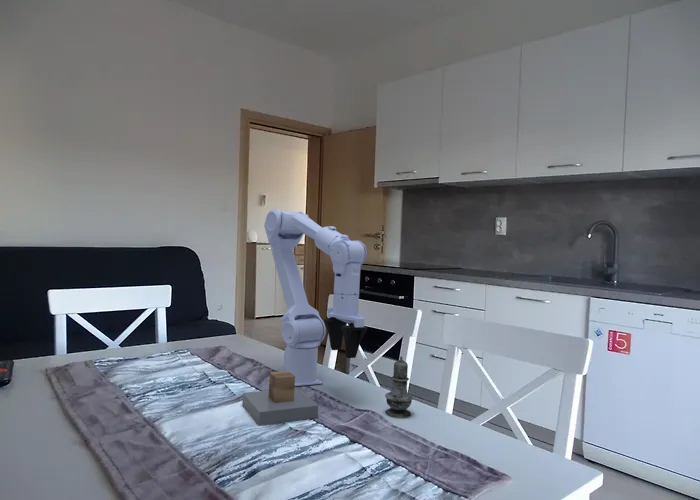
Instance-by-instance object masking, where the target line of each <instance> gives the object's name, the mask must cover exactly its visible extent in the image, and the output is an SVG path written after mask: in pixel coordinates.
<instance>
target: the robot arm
mask: <svg viewBox="0 0 700 500" xmlns="http://www.w3.org/2000/svg"><path fill="white" fill-rule="evenodd" d="M264 221H265V222H264V230H265V233H266V237H267V240H268V244H269V245H270V249H271V255H272V257H273V262H274V264H275V268H276V273H277V275H278V279H279V283H280V287H281V290H282V293H283V297H284V301H285V304H286V309H287V311H285V313H284V314H283V315H282V317H281V318H280V322H281V335H282V339H283V341H284V343H285V344H286V347H285V348H284V351H283V352H284V353H283V367H282V368H283V371H289V372H290V373H291V374H293V375H294V376H295V387H302V386H310V385H321V384H323V381H322V380H320V379H319V378H317V372H318V371H317V370H318V369H317V368H318V352H319V350H318V349H319V346H321V342H323V340H324V339H325V336H326V332H327V334H328V339H329V344H330V349H331V351H341V350H342V349H341V348H342V345H343V340H344V353H345V358H346V359H355V358H357V354H358V351H359V347H360V344H361V342H362V340H363V338H364V336H365V334H366V332H367V331H368V327H367V326H365V317H363V316H361V314H360V313H359V302H360V284H361V283H360V281H361V266H362V265H363V264H364V263H365V261H366V259H367V256H368V253H367V248H366V247H367V246H366V245H365V243H363V242H362V241H361V240H360V239H359V240H358V239H356V240H351V239H350V238H349V235H348V234H342V233H340V232H339V231H338V230H337V227H335V226H332V225H331V226H330V225H328V226H324V227H323V226H320V225H319V224H318V223H317V222H315V221H314V220H313V219H311V218H310V217H309V214H306V213H304V212H303V211H289V210H278V209H276V208H273V209H270V210H269V212H268V213H267V215H266V217H265V220H264ZM304 235H305V236H306V237H309V238H311V239H313V240H314V244H315V246H316V248H318V249H319V250H320V251H322V252H323V253H324V254H326V255H328V256H329V257H330V260H331V263H332V271H333V273H334V283H333V299H332V300H333V301H332V308H330V307H329V308H327V317H329V318H324V319H322V318H321V315H320V313H319V310H317V309H316V308H314V307H313V306H311V305H310V304H309V301H308V298H307V294H306V291H305V287H304V284H303V281H302V277H301V274H300V271H299V267H298V263H297V261H296V257H295V254H294V251H293V250H294V248H296V247H297V246H298V245H299V244H300V242H301V239H302V238H303V237H304ZM347 324H348V325H347ZM283 371H282V372H283Z"/></svg>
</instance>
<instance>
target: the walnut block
mask: <svg viewBox="0 0 700 500" xmlns="http://www.w3.org/2000/svg"><path fill="white" fill-rule="evenodd" d="M268 382H269V384H268V390H269V398H270V399H271V400H272V401H274V402H275V403H279V402H288V401H294V389H295V388H296V386H295V376H294V375H293V374H291V373H290V372H289V371H275V372H273V371H271V372H269V381H268Z"/></svg>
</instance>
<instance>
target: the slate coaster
mask: <svg viewBox="0 0 700 500" xmlns="http://www.w3.org/2000/svg"><path fill="white" fill-rule="evenodd" d="M241 402H242V404H241V405H242V406H243V408H244V409H245V410H246V411H247V413H248V414H249V415H250V417H252V419H253V420H254V421H255V422H256V424H257V425H258V426H266V425H273V424H283V423H288V422H297V421H305V420H311V419H318V417H319V404H317V402H315V401H314V400H312V399H311V398H310V397H309V396H308V395H307V394H305V393H304V392H303V391H302V390H300V388H298V387H295V389H294V401H288V402H279V403H275V402H274V401H272V400H271V399H270V398H269V389H268V390H259V391H250V392H249V391H248V392H242V401H241Z"/></svg>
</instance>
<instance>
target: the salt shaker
mask: <svg viewBox="0 0 700 500" xmlns="http://www.w3.org/2000/svg"><path fill="white" fill-rule="evenodd" d="M408 365H409V364H408V363H407V361H404V359H403V356H400V357H399V360H397V361H395V362H394V363H393V376H391V379H392V387H391V391H390V392H387V393H385V395H384V397H385V398H386V403H387V405H388V406H389V408H388V409H386V410H385V414H386V415H387V416H389V417H391V418H396V419H397V418H398V419H406V418H410V417H411V416H412V413H411V411H410V410H408V409H409V408H410V406H411V404H412V401H413V400H414V397H413V395H412V394H410V393H408V381H409V380H410V378H409V377H408V369H409V366H408Z"/></svg>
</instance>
